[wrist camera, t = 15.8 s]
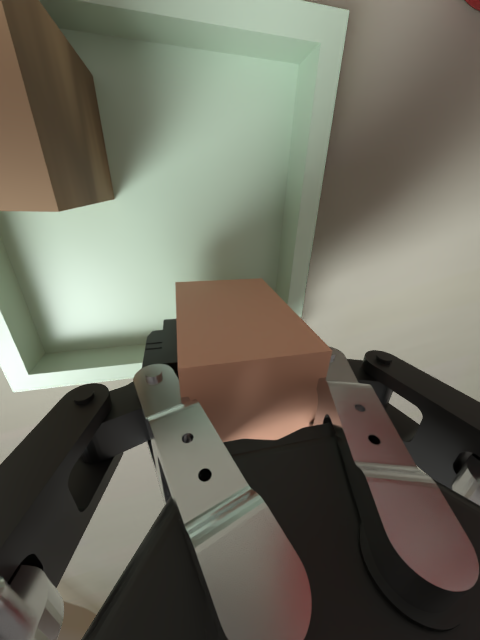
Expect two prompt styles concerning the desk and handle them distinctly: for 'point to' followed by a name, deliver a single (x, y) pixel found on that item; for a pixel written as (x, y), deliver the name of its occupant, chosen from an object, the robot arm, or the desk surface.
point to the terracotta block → (247, 358)
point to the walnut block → (47, 117)
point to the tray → (174, 177)
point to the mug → (474, 4)
